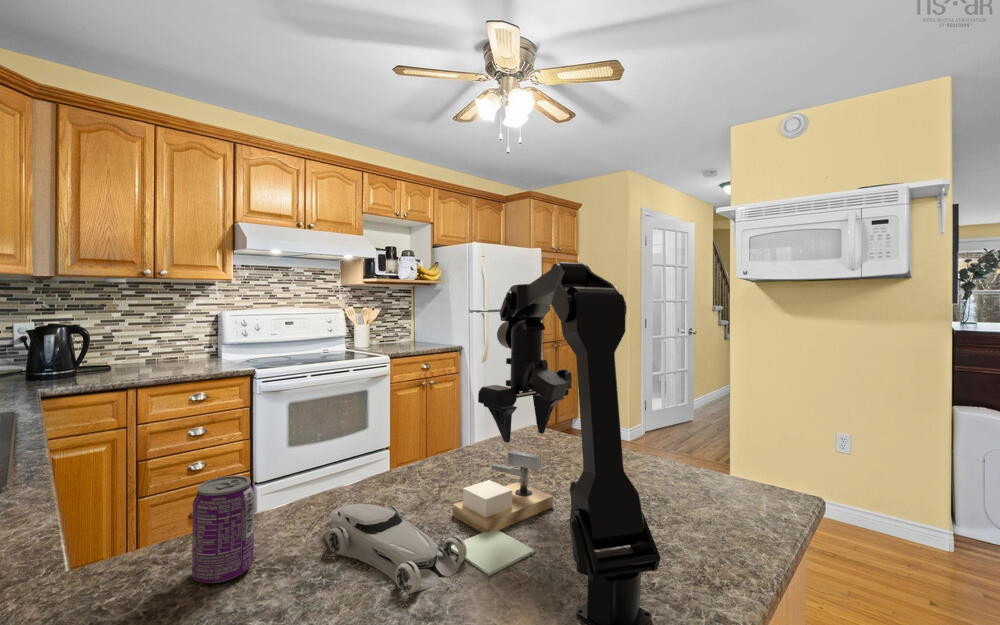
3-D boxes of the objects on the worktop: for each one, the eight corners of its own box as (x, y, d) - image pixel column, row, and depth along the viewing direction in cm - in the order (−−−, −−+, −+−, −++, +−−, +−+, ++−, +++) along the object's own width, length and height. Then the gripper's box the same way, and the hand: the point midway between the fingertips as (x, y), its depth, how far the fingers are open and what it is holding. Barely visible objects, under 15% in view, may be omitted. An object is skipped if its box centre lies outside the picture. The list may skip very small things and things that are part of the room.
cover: (485, 517, 75) (485, 499, 75) (462, 505, 80) (463, 488, 80) (511, 507, 79) (512, 490, 79) (488, 496, 84) (489, 479, 84)
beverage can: (240, 552, 67) (241, 470, 67) (262, 571, 63) (263, 483, 62) (183, 573, 62) (184, 484, 61) (203, 595, 57) (204, 499, 57)
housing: (486, 535, 73) (486, 522, 73) (452, 515, 80) (452, 503, 80) (552, 507, 84) (552, 495, 84) (517, 491, 91) (517, 481, 91)
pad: (489, 575, 62) (489, 572, 62) (449, 549, 69) (449, 546, 69) (534, 552, 69) (534, 550, 69) (493, 530, 75) (493, 527, 75)
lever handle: (490, 485, 88) (491, 449, 88) (494, 483, 89) (495, 447, 89) (536, 496, 83) (537, 458, 83) (540, 493, 85) (541, 455, 85)
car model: (413, 603, 57) (414, 563, 57) (308, 539, 72) (309, 507, 72) (472, 565, 66) (473, 530, 66) (368, 515, 81) (369, 486, 81)
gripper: (522, 361, 73) (520, 459, 73) (592, 354, 86) (590, 438, 86) (477, 355, 81) (475, 443, 81) (547, 349, 94) (545, 425, 94)
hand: (524, 437), depth 85 cm, fingers open, 9 cm apart
